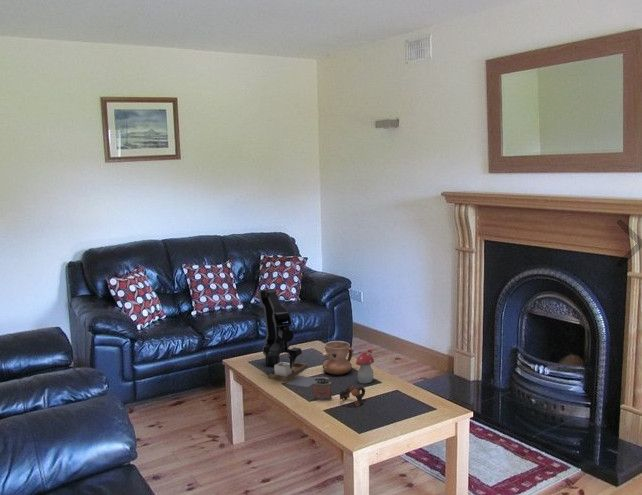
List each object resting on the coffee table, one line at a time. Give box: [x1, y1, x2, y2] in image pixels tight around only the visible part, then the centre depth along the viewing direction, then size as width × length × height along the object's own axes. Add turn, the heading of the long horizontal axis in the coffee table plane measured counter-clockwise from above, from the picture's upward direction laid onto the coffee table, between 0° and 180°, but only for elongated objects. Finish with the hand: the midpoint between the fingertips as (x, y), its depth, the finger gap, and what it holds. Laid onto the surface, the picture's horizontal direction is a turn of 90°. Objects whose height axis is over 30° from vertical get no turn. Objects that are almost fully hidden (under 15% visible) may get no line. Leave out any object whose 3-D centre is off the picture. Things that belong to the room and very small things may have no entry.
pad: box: [285, 374, 317, 388], centre depth 286 cm, size 12×12×1 cm
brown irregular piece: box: [338, 385, 366, 408], centre depth 260 cm, size 12×10×8 cm
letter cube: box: [273, 361, 292, 377], centre depth 293 cm, size 6×6×6 cm
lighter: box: [312, 376, 333, 402], centre depth 264 cm, size 8×3×10 cm, turn 84°
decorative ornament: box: [355, 349, 375, 385], centre depth 283 cm, size 9×6×15 cm
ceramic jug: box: [322, 340, 354, 376], centre depth 298 cm, size 18×14×14 cm
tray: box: [267, 361, 308, 382], centre depth 297 cm, size 11×20×2 cm, turn 153°
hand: (282, 367), depth 293 cm, fingers open, 9 cm apart
